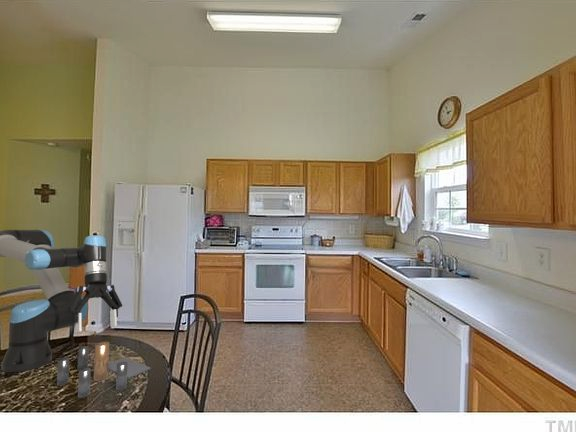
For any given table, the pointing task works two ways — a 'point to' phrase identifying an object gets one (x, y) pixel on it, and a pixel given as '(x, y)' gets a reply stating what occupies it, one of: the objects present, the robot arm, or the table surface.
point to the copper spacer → (101, 361)
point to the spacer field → (87, 373)
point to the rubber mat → (129, 367)
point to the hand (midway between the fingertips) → (96, 329)
